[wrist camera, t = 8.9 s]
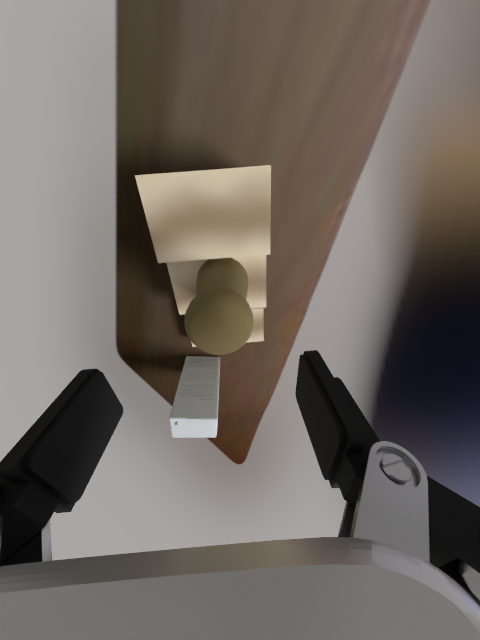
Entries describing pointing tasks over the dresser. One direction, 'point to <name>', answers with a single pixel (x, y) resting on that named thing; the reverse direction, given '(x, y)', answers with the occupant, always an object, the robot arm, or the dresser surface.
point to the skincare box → (196, 399)
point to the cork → (220, 308)
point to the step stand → (211, 227)
